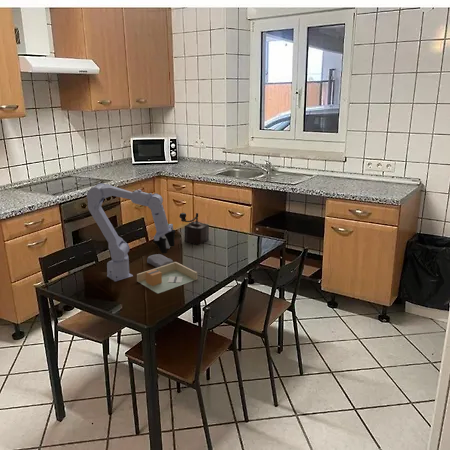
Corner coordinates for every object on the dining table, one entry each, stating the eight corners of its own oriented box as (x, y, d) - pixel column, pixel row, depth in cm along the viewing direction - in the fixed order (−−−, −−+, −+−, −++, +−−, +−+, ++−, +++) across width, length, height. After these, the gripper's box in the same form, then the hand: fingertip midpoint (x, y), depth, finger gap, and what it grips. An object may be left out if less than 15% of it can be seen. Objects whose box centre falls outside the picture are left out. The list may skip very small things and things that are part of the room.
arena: (157, 294, 189) (157, 286, 187) (137, 282, 200) (136, 274, 198) (197, 280, 203) (197, 272, 202) (176, 269, 214) (175, 261, 213)
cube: (152, 285, 195) (152, 275, 194) (146, 282, 199) (145, 271, 197) (161, 282, 199) (161, 272, 197) (155, 279, 202) (155, 268, 200)
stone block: (160, 261, 227) (144, 263, 220) (162, 253, 226) (146, 254, 219) (175, 269, 219) (159, 271, 212) (176, 260, 219) (160, 262, 211)
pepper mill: (193, 236, 260) (193, 206, 254) (209, 239, 255) (209, 209, 249) (177, 244, 247) (177, 213, 241) (194, 248, 242) (194, 216, 236)
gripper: (160, 226, 188) (168, 255, 192) (175, 214, 200) (183, 242, 204) (146, 227, 190) (154, 256, 194) (162, 216, 203) (169, 243, 207)
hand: (168, 249), depth 199 cm, fingers open, 7 cm apart
